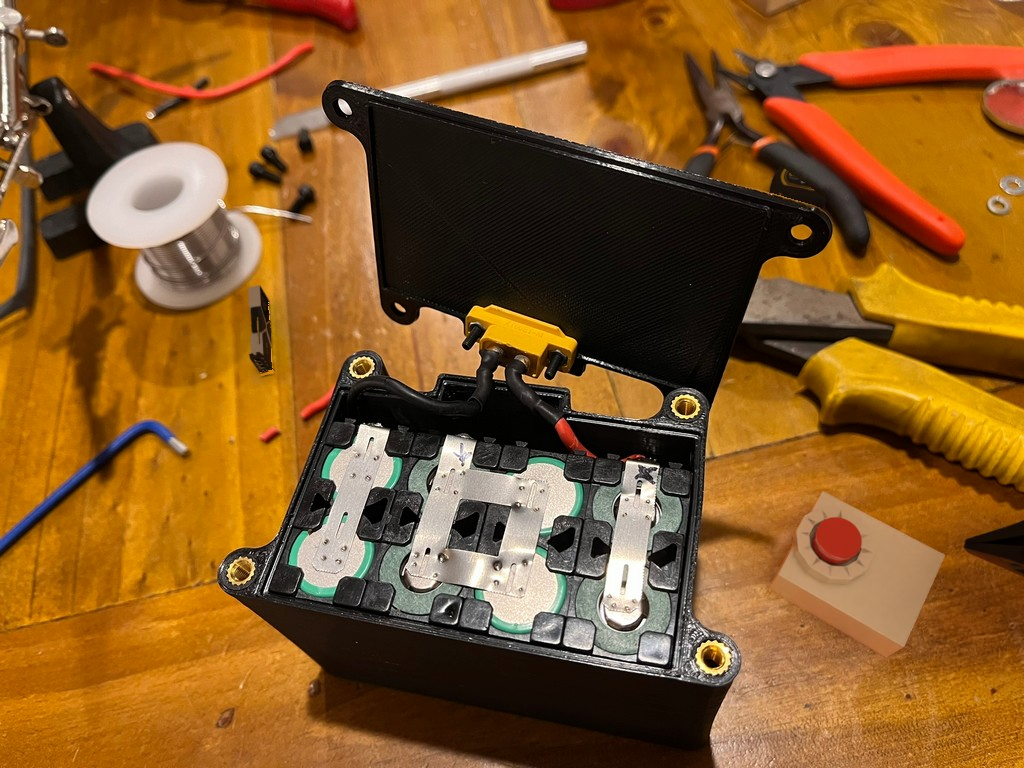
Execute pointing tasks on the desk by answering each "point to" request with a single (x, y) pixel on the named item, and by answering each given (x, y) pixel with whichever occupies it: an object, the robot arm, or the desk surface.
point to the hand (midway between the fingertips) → (966, 546)
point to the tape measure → (795, 188)
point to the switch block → (860, 578)
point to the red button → (837, 540)
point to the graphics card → (260, 329)
